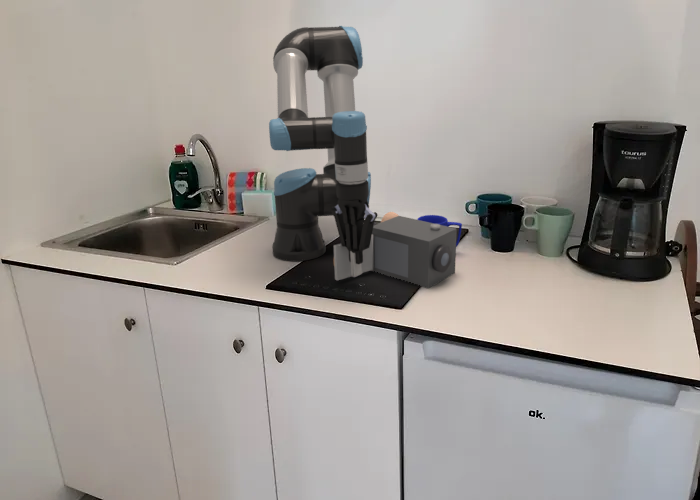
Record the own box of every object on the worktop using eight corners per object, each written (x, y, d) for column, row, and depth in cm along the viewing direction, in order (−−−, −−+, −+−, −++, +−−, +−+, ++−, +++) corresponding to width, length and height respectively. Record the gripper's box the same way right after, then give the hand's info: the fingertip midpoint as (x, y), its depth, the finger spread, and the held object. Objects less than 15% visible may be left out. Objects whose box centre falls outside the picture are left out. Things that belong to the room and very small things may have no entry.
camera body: (370, 270, 149) (369, 223, 145) (398, 257, 158) (398, 212, 153) (433, 290, 137) (435, 239, 132) (460, 274, 145) (462, 226, 141)
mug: (460, 260, 154) (461, 225, 151) (415, 258, 157) (415, 223, 153) (460, 249, 162) (462, 215, 158) (418, 247, 164) (418, 214, 161)
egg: (387, 242, 169) (387, 216, 166) (376, 236, 175) (376, 211, 172) (406, 238, 172) (406, 213, 169) (394, 232, 178) (394, 207, 175)
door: (370, 268, 149) (370, 233, 146) (374, 270, 148) (374, 234, 144) (333, 279, 143) (332, 243, 139) (337, 281, 141) (335, 245, 138)
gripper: (321, 180, 133) (327, 274, 141) (362, 187, 125) (366, 286, 133) (342, 174, 138) (347, 265, 146) (383, 180, 130) (386, 275, 139)
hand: (356, 275), depth 140 cm, fingers closed
